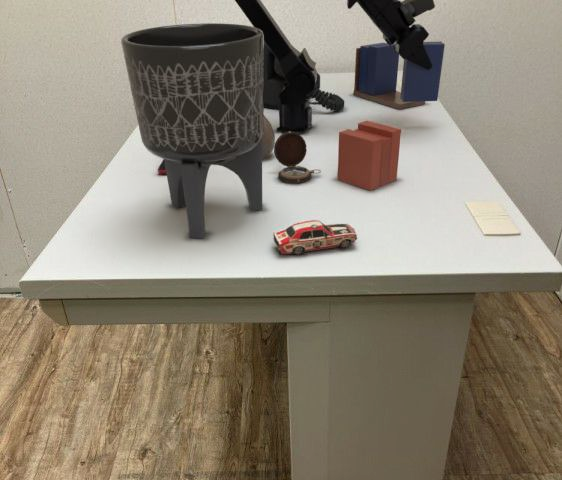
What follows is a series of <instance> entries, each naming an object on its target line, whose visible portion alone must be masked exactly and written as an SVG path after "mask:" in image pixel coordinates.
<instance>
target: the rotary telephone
mask: <svg viewBox="0 0 562 480" xmlns="http://www.w3.org/2000/svg"><path fill="white" fill-rule="evenodd" d="M286 82H287V81H286V79H285V77H284V75H283V72H282V70H281V67H280V65H279V62H278V60H277V58H276V57H275V56H274V54H273V53H272V52H271V50H270V49H269V47H268V46H267V45H266V43H265V42H264V108H268V109H274V110H275V109H276V110H279V100H280V98H279V94H280V92H281V90H282V87H283V85H284V84H285V83H286ZM305 98H306V99H310V98H311V99H314V100H315V102H317V103H318V105H320V106H322V108H325V109H326V111H327V110H330V111H331V112H332V111H334V112H336V111H337V112H338V111H340V110H342V109H344V107H345V99H343V98H342V97H341V96H339V94H335V93H332V92H329V91H325V90H321V75H320V73H318V72H317V80H316V84H315V87H314V89H313V91H312V92H311V93H310V94H308V95H306V97H305Z"/></svg>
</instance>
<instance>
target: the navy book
mask: <svg viewBox="0 0 562 480" xmlns="http://www.w3.org/2000/svg"><path fill="white" fill-rule="evenodd" d="M423 45H424V48H425V50H426V52H427V55H428V57H429V59H430V61H431V63H432V68H431V69H430V70H427V69H425V68H423V67H421V66H419V65H417V64H415V63H413V62H411V61H409V60H406V59H405V60H404V59H403V65H402V66H403V67H402V77H401V86H400V92H401V96H400V99H401V100H402V101H403V102H419V101H425V102H438V100H439V90H440V85H441V75H442V68H443V61H444V53H445V45H446V44H445V42H442V41H424V42H423Z"/></svg>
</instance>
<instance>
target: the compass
mask: <svg viewBox="0 0 562 480" xmlns="http://www.w3.org/2000/svg"><path fill="white" fill-rule="evenodd" d="M307 151H308V150H307V143H306V140H305V139H304V137H303V136H302V135H300V133H295V132H291V131H289V132H283V133H282V134H281V135H279V136H278V138H277V139H275V144H274V148H273V153H274V157H275V159H276V160H277V162H279V164H281V165H282V166H284V168H282V169H281V170H280V171H279V172H278V179H279V180H280V181H282V182H284V183H289V184H299V183H304V182H305V183H306V182H307V181H309V180H310V179H311V178H312V174H315V171H318V172H317V174H320V173H322V171H321V169H316V168H315V169H312V170H309V169H308V168H307V167H305V166H300V165H299V164H301V163H302V162H303V160H304V159H305V158H306V155H307Z"/></svg>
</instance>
